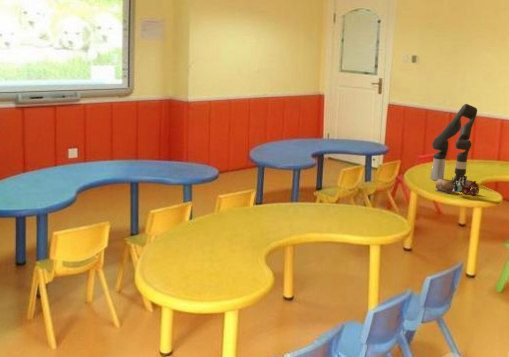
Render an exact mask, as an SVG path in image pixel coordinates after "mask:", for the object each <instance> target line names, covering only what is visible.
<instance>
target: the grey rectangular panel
mask: <svg viewBox="0 0 509 357" xmlns="http://www.w3.org/2000/svg"><path fill="white" fill-rule="evenodd" d="M435 191H436V192H438V193H442V194H445V195H448V194H452V193H458V191H454V188H453V190H452V192H450V193H448V192H445V191H441V190H437V189H435Z"/></svg>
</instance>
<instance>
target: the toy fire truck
mask: <svg viewBox="0 0 509 357" xmlns="http://www.w3.org/2000/svg"><path fill="white" fill-rule="evenodd" d="M461 192H462V194H463V195H464V196H465V195H467V194H469V195H470V196H471V197H474V196H475V195H478V194H479V193H480V187H479V184H478V183H477V181H476V180H470V179H466V183H465V184H464V185H463V189H462V191H461Z"/></svg>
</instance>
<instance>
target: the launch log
mask: <svg viewBox="0 0 509 357" xmlns="http://www.w3.org/2000/svg"><path fill="white" fill-rule="evenodd" d="M435 188H436V189H435V190H441V191H445V192H448V194H451V193H450V192H452V190H453V188H454V185H452V181H449V180H445V179H444V180H442V179H439V180H438V181H436V183H435Z"/></svg>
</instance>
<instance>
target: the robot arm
mask: <svg viewBox="0 0 509 357" xmlns="http://www.w3.org/2000/svg"><path fill="white" fill-rule="evenodd" d="M477 114H478V108H477V107H475V106H472V105H470V104H468V103H465V104H463V105H462V106H461V107H460V109H459V110H458V112H457V113H456V115H455V116H454V117H453V119H451V121H450V122H449V123H448V124H447V125H446V126H445V128H444V129H443V130H442V131H441V133H439V134H438V135H437V136H436V137H435V138H434V139H433V141H432V148H433V149H434V150H436V151H438V152H436V153H434V154H433V161H432V167H431V170H430V171H431V172H430V179H431V180H432V181H436V182H437V181H438V180H439V179H442V180H445V179H444V178H445V177H444V176H445V169H446V160H447V155H448V151H449V150H448V149H449V139H451V138H453V137H455V136H456V135H457V134H458V133H459V132H460V133H459V136H458V138H457V140H456V141H455V148H456V149H457V150H463V151H462V152H457V154H456V161H455V166H454V174H455V176H454V177H451V182H452V185H454V191H457V189H458V184H459V183H460V185H461V186H462V189H463V185H464V184H465V183H466V180H468V176H467V175H466V173H467V167H468V166H467V165H468V156H469V152H470V150H471V148H472V142H471V140H469V139H470V138H471V134H472V128H473V126H474V123H475V120H476V117H477ZM462 117H464V118H466V119H469V120H468V121H467V122H466V123H465V124H463V125H462V121H461V120H462ZM456 181H457V182H456ZM456 183H457V184H456Z"/></svg>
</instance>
